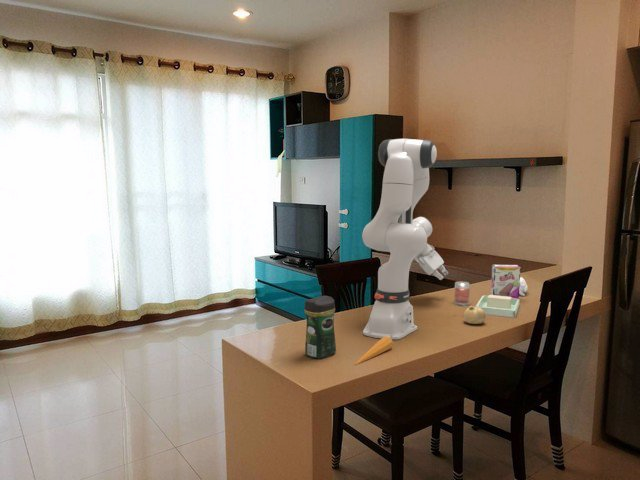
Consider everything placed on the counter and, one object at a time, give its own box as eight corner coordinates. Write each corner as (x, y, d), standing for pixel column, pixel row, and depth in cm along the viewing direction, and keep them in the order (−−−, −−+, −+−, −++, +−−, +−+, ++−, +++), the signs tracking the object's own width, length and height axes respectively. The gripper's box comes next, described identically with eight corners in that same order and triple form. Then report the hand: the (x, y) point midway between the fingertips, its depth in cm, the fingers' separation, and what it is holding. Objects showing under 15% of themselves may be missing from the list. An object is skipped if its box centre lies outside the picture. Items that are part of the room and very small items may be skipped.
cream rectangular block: (509, 309, 205) (510, 299, 204) (487, 306, 209) (487, 297, 208) (511, 306, 209) (511, 296, 209) (488, 303, 213) (489, 294, 213)
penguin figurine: (510, 276, 230) (518, 274, 239) (508, 294, 230) (517, 292, 240) (524, 278, 226) (532, 276, 235) (522, 296, 226) (531, 294, 236)
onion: (466, 319, 194) (467, 301, 194) (487, 322, 190) (488, 304, 189) (461, 324, 188) (461, 306, 187) (482, 327, 184) (483, 309, 183)
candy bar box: (492, 303, 217) (494, 266, 215) (490, 300, 222) (491, 264, 220) (519, 303, 216) (521, 266, 214) (515, 300, 221) (517, 264, 219)
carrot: (386, 348, 165) (381, 335, 165) (396, 346, 162) (391, 333, 162) (351, 373, 150) (345, 359, 150) (362, 371, 147) (356, 357, 147)
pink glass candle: (467, 308, 209) (468, 285, 208) (452, 306, 212) (453, 283, 211) (470, 304, 215) (470, 282, 213) (455, 303, 217) (456, 280, 216)
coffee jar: (323, 347, 164) (323, 292, 162) (339, 353, 158) (339, 296, 156) (300, 354, 158) (299, 297, 155) (316, 361, 152) (316, 302, 149)
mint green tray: (514, 319, 193) (515, 310, 192) (475, 315, 199) (475, 306, 199) (519, 306, 211) (519, 298, 210) (482, 303, 217) (482, 295, 217)
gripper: (421, 252, 208) (444, 277, 205) (433, 245, 226) (454, 267, 223) (411, 261, 210) (433, 286, 207) (423, 254, 228) (444, 276, 226)
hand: (444, 276), depth 215 cm, fingers open, 8 cm apart
